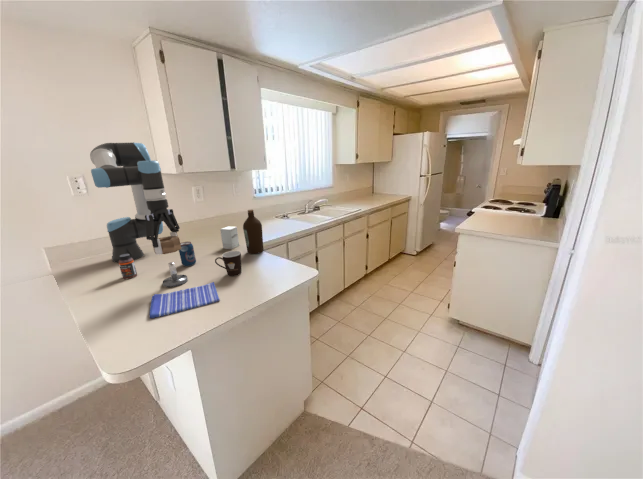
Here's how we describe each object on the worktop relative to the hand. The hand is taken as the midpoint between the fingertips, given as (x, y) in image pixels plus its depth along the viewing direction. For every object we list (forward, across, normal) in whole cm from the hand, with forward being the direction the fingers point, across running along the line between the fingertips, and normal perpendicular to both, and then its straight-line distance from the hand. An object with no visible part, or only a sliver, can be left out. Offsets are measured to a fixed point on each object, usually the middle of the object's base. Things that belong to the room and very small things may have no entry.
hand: (168, 249), depth 116 cm
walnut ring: (0, 0, 0) cm, 0 cm away
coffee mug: (+16, +11, -22) cm, 29 cm away
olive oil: (+16, +42, -22) cm, 50 cm away
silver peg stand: (+16, 0, 0) cm, 16 cm away
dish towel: (+17, -15, -15) cm, 27 cm away
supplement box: (+16, +50, -3) cm, 53 cm away
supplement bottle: (+16, +5, +28) cm, 33 cm away
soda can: (+16, +21, +7) cm, 27 cm away
